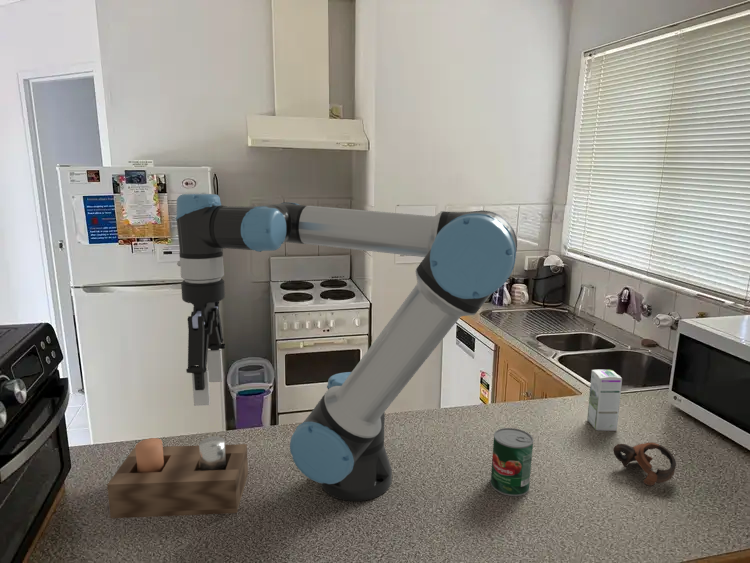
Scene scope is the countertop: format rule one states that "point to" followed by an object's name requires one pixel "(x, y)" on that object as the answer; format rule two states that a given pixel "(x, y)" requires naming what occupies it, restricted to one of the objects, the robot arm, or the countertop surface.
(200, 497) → the brown wooden block
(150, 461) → the tan rounded piece
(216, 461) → the grey rounded piece
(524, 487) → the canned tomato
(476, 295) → the robot arm
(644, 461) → the brown double ring
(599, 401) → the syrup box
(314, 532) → the countertop surface
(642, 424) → the countertop surface
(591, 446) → the countertop surface
